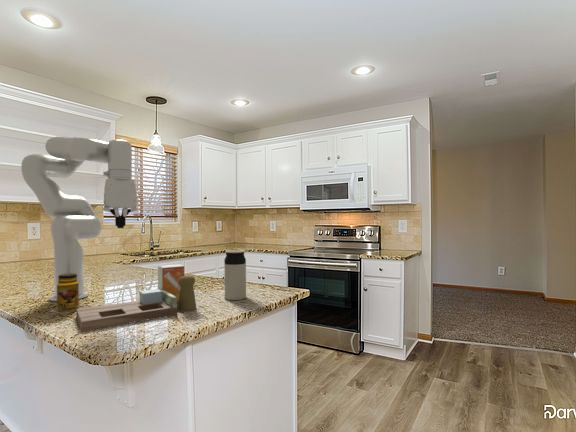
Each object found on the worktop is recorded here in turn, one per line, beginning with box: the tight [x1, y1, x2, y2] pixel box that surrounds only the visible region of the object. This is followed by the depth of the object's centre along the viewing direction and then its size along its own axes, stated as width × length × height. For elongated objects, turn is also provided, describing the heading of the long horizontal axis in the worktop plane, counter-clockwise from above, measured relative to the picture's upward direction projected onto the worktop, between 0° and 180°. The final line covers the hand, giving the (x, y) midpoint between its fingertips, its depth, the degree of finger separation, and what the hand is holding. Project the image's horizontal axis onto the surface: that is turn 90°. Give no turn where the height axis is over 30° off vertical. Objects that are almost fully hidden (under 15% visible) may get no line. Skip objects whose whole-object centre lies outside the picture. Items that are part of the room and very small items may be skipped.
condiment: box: [47, 273, 86, 315], centre depth 117 cm, size 7×8×12 cm
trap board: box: [76, 289, 178, 332], centre depth 109 cm, size 16×26×6 cm, turn 125°
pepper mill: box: [177, 275, 197, 312], centre depth 117 cm, size 6×6×11 cm
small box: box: [157, 263, 185, 303], centre depth 128 cm, size 8×6×13 cm
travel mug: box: [224, 249, 247, 301], centre depth 132 cm, size 8×8×18 cm
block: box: [139, 288, 162, 305], centre depth 117 cm, size 5×6×4 cm
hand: (120, 228), depth 123 cm, fingers closed
